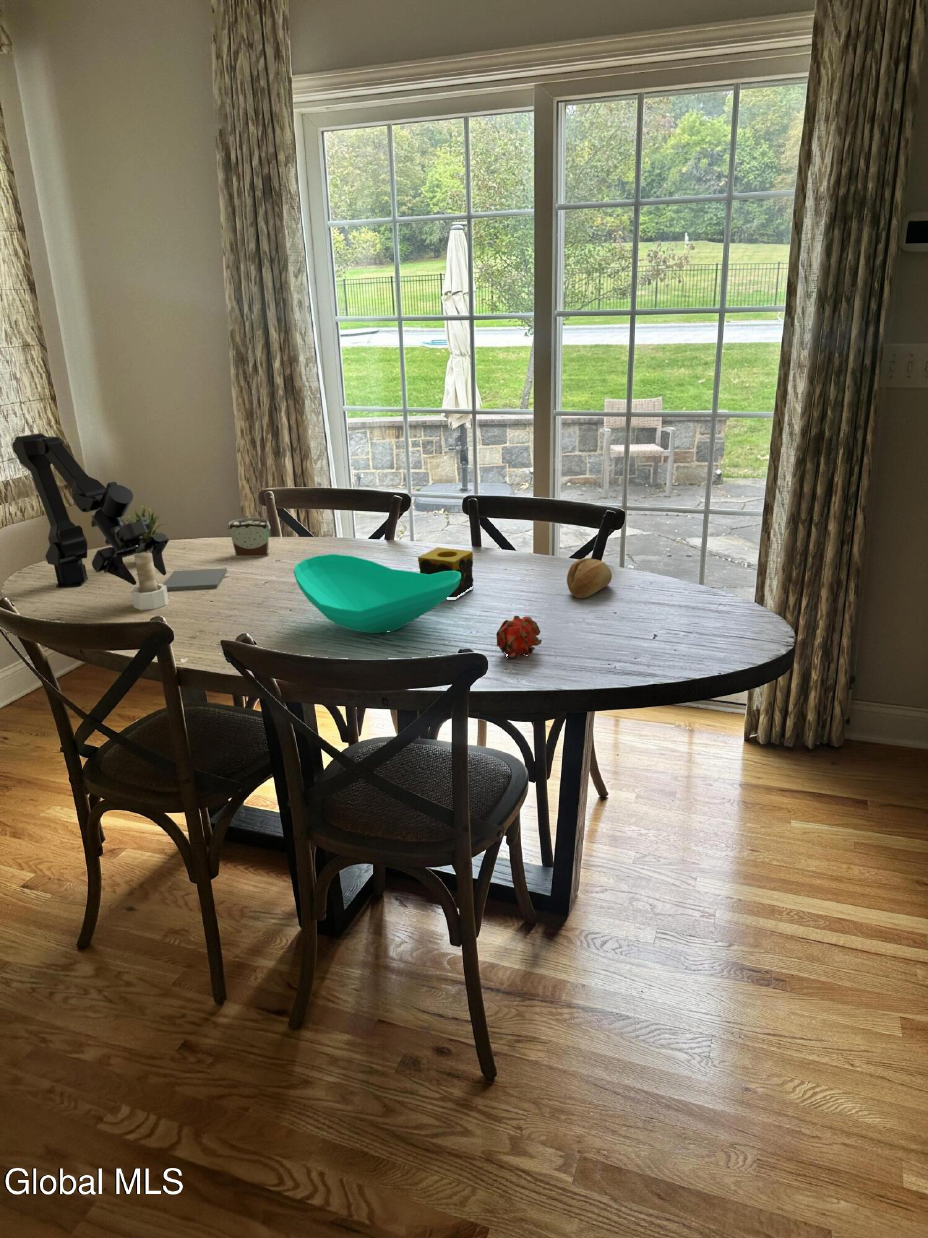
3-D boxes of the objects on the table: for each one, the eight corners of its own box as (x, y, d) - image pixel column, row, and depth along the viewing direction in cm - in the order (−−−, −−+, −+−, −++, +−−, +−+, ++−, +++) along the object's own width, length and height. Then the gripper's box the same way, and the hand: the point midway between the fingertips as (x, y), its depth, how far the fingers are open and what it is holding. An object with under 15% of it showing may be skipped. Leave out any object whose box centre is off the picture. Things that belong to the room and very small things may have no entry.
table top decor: (269, 634, 187) (262, 576, 183) (346, 596, 210) (341, 543, 205) (421, 666, 168) (418, 602, 164) (488, 620, 190) (487, 563, 186)
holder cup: (131, 610, 205) (128, 594, 204) (139, 599, 212) (137, 584, 211) (163, 608, 205) (160, 592, 204) (171, 598, 213) (168, 582, 211)
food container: (279, 550, 250) (275, 516, 247) (272, 556, 245) (268, 522, 241) (238, 550, 252) (234, 517, 248) (231, 556, 246) (226, 522, 242)
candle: (418, 596, 208) (416, 557, 204) (438, 584, 216) (436, 546, 212) (455, 602, 203) (453, 561, 200) (474, 589, 211) (473, 550, 208)
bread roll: (557, 598, 203) (557, 566, 200) (581, 580, 215) (581, 550, 212) (595, 604, 199) (596, 571, 196) (617, 585, 211) (618, 554, 208)
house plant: (120, 558, 248) (110, 502, 242) (170, 551, 253) (161, 496, 248) (124, 571, 236) (114, 513, 230) (176, 563, 241) (167, 506, 235)
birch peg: (140, 607, 207) (132, 557, 202) (145, 601, 211) (136, 553, 206) (157, 606, 207) (149, 556, 203) (161, 601, 211) (153, 552, 206)
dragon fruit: (534, 650, 178) (510, 680, 169) (503, 624, 179) (477, 652, 169) (555, 625, 172) (532, 654, 163) (522, 598, 173) (497, 626, 164)
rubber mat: (161, 591, 218) (161, 587, 218) (174, 574, 231) (174, 570, 231) (217, 587, 219) (216, 584, 219) (227, 571, 232) (226, 568, 232)
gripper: (89, 517, 196) (127, 570, 193) (158, 500, 210) (193, 549, 208) (76, 545, 203) (112, 597, 201) (143, 528, 217) (178, 575, 215)
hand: (150, 579), depth 206 cm, fingers open, 8 cm apart
